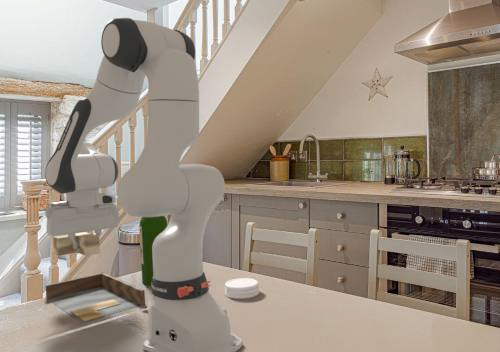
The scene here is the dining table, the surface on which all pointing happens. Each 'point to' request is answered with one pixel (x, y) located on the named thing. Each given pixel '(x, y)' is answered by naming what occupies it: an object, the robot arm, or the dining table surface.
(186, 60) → the robot arm
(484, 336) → the dining table surface
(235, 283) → the coaster
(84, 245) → the oak L block
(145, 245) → the wine bottle
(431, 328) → the dining table surface
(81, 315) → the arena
